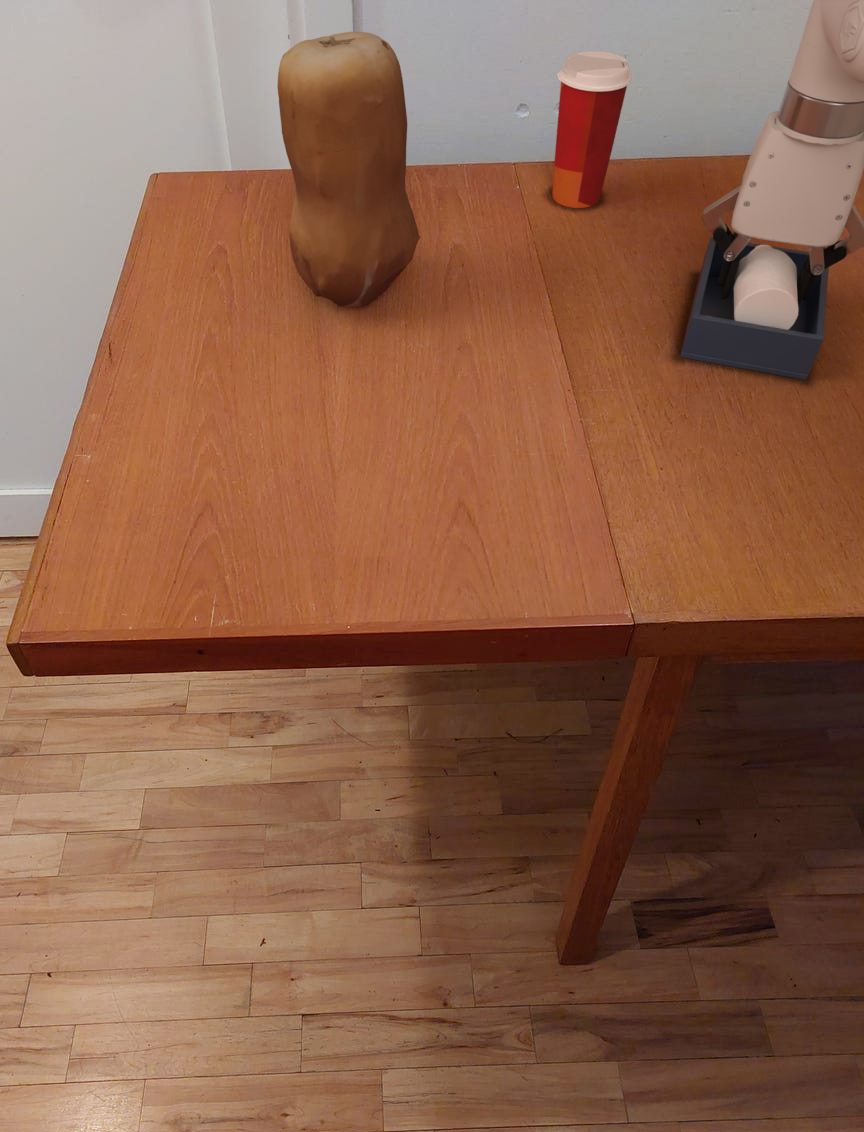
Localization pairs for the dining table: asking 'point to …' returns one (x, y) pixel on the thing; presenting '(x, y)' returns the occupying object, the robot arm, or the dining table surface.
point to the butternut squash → (347, 165)
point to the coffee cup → (587, 124)
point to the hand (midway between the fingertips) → (759, 296)
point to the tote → (753, 325)
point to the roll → (766, 289)
